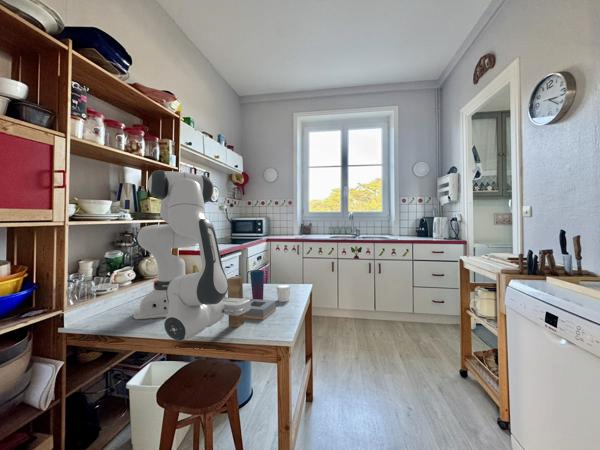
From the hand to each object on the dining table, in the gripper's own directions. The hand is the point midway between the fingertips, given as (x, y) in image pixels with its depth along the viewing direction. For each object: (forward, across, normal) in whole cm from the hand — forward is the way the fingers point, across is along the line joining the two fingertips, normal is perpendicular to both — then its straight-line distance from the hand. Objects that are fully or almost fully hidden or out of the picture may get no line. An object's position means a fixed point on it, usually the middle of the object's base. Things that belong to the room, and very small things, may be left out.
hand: (234, 298), depth 100 cm
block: (+1, 0, +10) cm, 10 cm away
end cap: (+14, -2, +10) cm, 18 cm away
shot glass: (+34, -6, +11) cm, 36 cm away
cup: (+30, +6, +11) cm, 32 cm away
